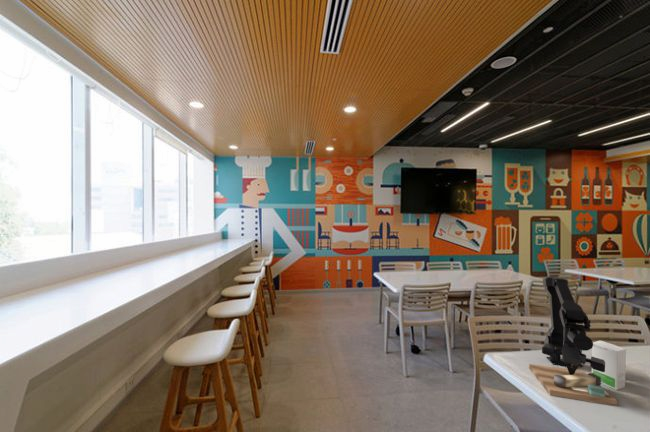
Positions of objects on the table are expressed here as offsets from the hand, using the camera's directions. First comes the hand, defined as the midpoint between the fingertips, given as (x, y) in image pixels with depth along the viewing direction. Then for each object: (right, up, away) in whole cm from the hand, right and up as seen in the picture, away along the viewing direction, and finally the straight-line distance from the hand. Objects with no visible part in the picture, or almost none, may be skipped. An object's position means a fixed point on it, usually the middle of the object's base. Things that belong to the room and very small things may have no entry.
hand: (571, 377), depth 111 cm
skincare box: (+16, -3, +1) cm, 17 cm away
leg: (-1, -1, -3) cm, 3 cm away
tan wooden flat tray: (-1, -3, 0) cm, 3 cm away
